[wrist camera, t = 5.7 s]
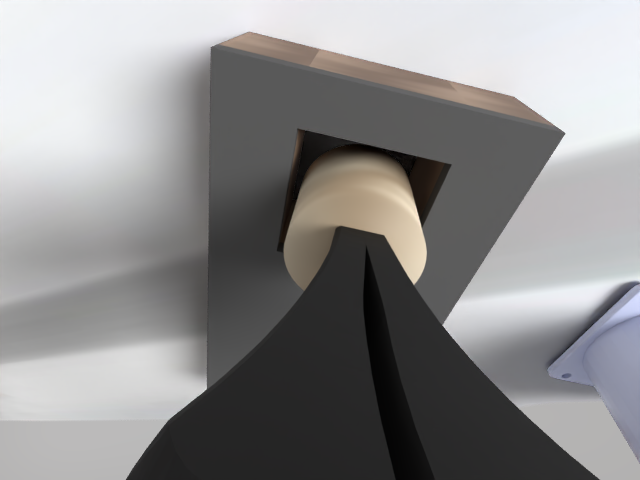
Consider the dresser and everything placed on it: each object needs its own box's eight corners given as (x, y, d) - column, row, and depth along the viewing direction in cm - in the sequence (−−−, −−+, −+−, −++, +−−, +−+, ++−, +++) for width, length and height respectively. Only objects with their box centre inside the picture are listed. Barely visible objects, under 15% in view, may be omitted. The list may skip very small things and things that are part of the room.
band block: (514, 96, 13) (565, 133, 10) (361, 391, 25) (361, 450, 22) (249, 31, 12) (211, 47, 9) (226, 364, 25) (206, 420, 22)
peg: (428, 159, 12) (451, 216, 9) (390, 250, 14) (398, 319, 11) (311, 131, 11) (295, 181, 9) (292, 228, 14) (275, 293, 11)
